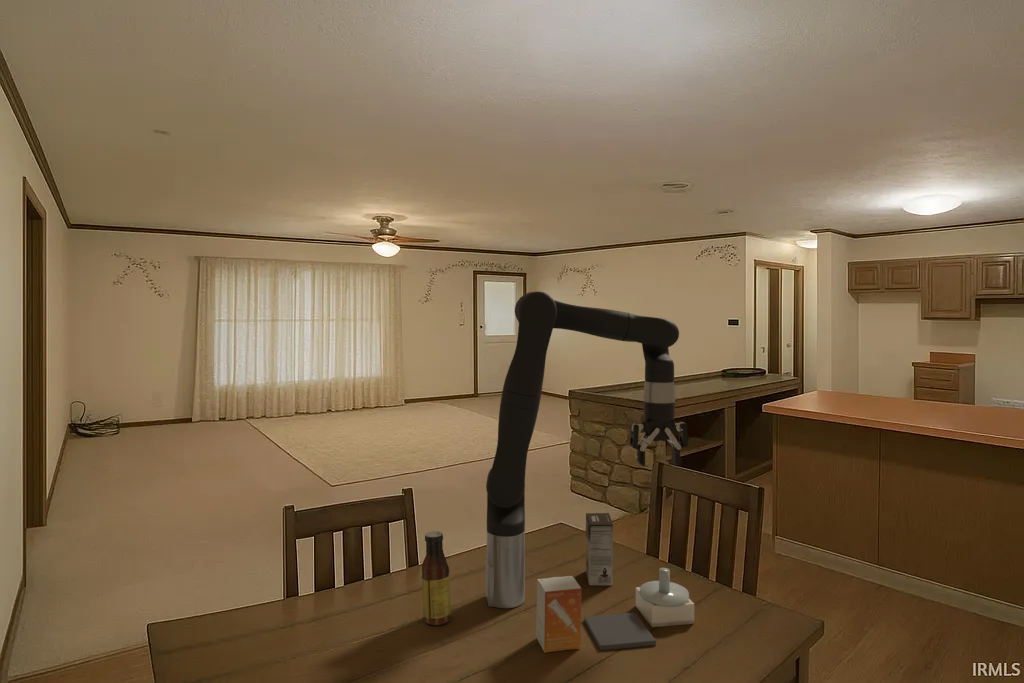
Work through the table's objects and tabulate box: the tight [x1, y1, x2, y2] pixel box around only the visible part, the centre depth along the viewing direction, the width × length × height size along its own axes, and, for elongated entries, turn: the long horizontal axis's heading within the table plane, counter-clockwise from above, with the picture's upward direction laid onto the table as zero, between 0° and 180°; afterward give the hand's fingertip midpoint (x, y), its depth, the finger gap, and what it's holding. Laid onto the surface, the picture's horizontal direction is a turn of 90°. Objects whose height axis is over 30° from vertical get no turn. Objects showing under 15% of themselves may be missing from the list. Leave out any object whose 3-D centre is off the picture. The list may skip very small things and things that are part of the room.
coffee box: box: [585, 512, 614, 586], centre depth 158 cm, size 9×6×16 cm
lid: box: [639, 567, 690, 607], centre depth 139 cm, size 11×11×6 cm
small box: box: [536, 575, 582, 654], centre depth 127 cm, size 8×6×13 cm
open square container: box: [635, 586, 695, 628], centre depth 139 cm, size 10×10×4 cm
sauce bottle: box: [421, 530, 452, 626], centre depth 136 cm, size 7×6×20 cm
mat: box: [584, 612, 657, 651], centre depth 131 cm, size 12×12×1 cm
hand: (658, 464), depth 149 cm, fingers open, 8 cm apart
